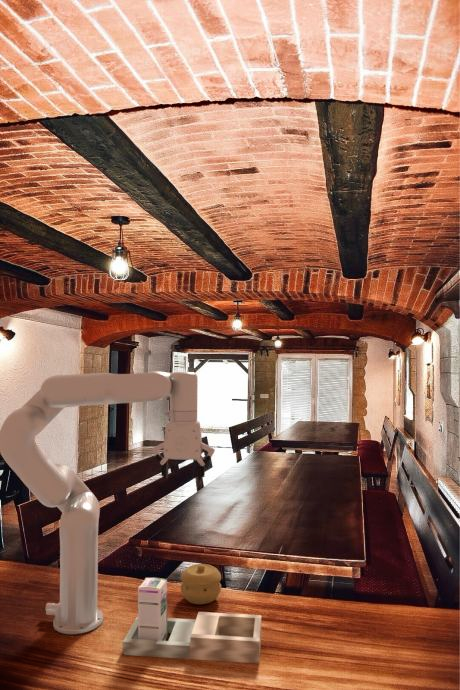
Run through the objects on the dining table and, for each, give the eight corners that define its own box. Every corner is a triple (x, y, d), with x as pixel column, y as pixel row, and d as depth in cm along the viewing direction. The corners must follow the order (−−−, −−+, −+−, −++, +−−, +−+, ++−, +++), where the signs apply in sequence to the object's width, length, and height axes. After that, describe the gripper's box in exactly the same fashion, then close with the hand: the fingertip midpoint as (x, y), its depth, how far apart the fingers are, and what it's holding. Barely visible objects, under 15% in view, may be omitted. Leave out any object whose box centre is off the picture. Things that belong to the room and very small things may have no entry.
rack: (122, 654, 121) (122, 633, 121) (136, 627, 133) (137, 608, 133) (259, 663, 118) (259, 641, 118) (261, 635, 130) (261, 615, 130)
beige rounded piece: (215, 612, 141) (215, 575, 142) (174, 607, 144) (174, 571, 144) (225, 593, 153) (225, 559, 153) (188, 588, 156) (188, 555, 156)
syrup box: (160, 649, 123) (161, 588, 123) (137, 647, 124) (137, 586, 124) (167, 637, 129) (168, 578, 129) (144, 634, 130) (145, 576, 130)
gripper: (149, 417, 139) (148, 481, 139) (212, 419, 137) (212, 483, 137) (156, 414, 147) (155, 475, 146) (216, 415, 145) (216, 477, 145)
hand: (183, 479), depth 142 cm, fingers open, 9 cm apart
